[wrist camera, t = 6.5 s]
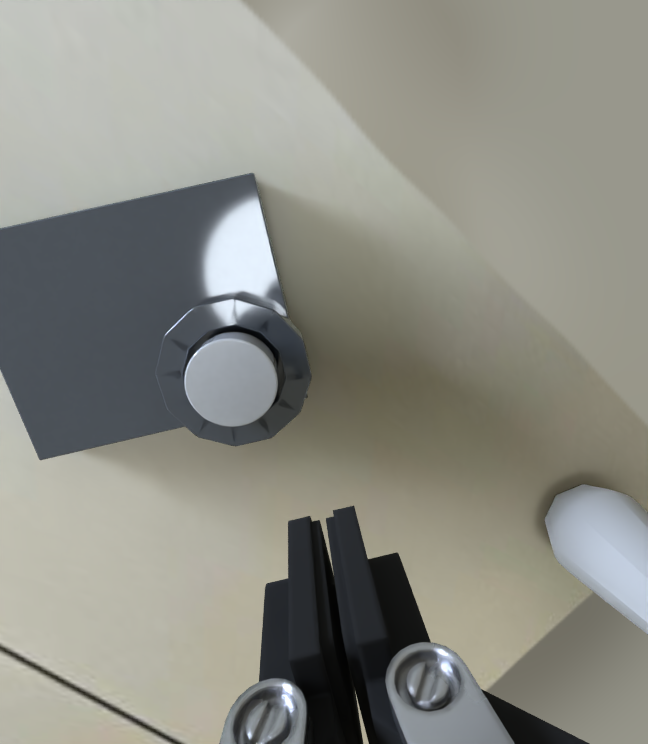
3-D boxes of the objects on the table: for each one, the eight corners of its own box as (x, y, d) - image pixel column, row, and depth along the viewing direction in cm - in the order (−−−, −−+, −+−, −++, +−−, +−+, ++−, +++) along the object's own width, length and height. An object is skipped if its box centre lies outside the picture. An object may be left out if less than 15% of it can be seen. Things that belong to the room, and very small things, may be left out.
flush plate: (265, 177, 23) (261, 162, 19) (317, 399, 26) (323, 426, 22) (-25, 241, 22) (-89, 240, 18) (66, 458, 25) (27, 496, 22)
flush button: (266, 322, 21) (264, 329, 19) (287, 402, 22) (287, 415, 20) (180, 342, 21) (171, 350, 19) (205, 421, 22) (199, 436, 20)
